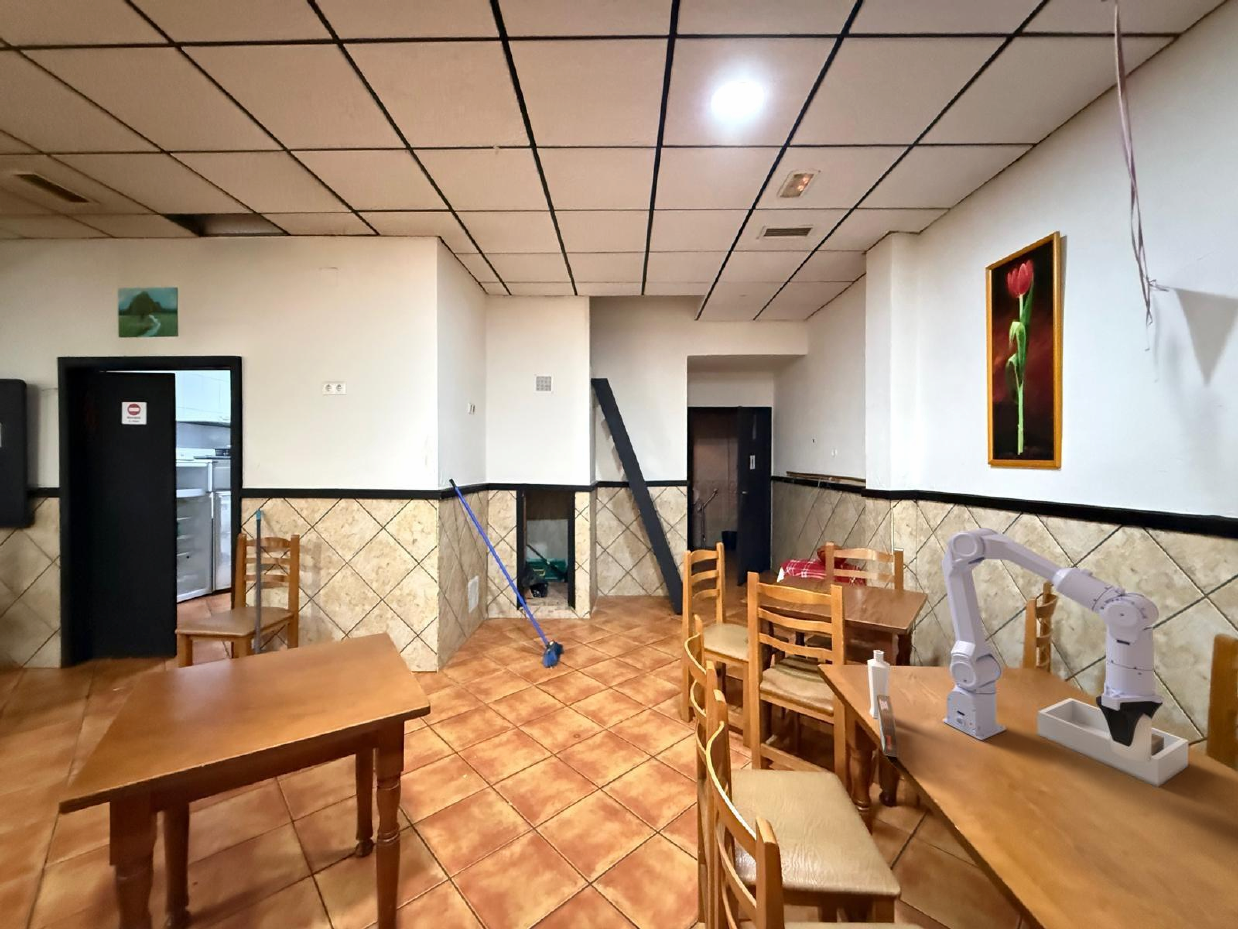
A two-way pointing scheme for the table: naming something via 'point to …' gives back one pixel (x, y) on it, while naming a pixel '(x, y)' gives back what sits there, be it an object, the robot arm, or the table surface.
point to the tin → (887, 726)
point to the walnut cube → (1156, 744)
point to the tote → (1090, 737)
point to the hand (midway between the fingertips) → (1128, 739)
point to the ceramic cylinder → (1136, 742)
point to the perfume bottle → (877, 680)
